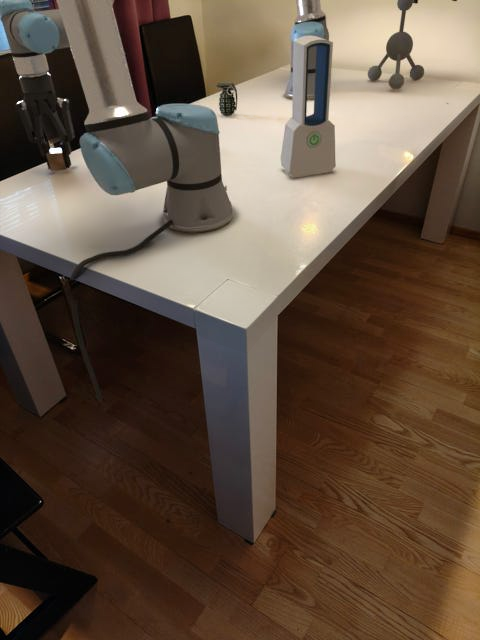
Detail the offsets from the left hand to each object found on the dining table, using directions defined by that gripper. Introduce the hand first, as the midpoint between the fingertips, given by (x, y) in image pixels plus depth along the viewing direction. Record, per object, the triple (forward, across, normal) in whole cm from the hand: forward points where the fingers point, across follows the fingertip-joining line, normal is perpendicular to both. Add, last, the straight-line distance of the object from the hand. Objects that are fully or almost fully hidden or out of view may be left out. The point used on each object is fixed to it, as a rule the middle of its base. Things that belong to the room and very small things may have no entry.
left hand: (60, 166), depth 134 cm
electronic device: (+1, -67, +11) cm, 68 cm away
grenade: (+1, -47, -44) cm, 64 cm away
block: (0, 0, 0) cm, 0 cm away
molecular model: (+1, -115, -76) cm, 138 cm away
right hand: (-27, -121, -67) cm, 141 cm away
